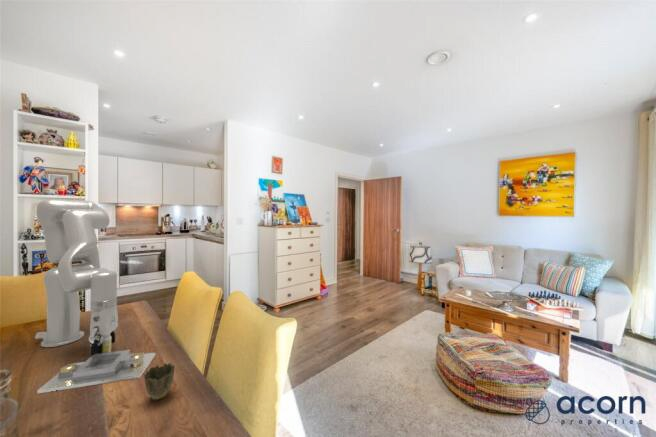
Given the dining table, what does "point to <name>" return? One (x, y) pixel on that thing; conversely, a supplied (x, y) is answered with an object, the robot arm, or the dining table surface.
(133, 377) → the gray plate
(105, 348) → the supplement bottle
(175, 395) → the dining table surface
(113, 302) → the robot arm
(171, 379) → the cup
